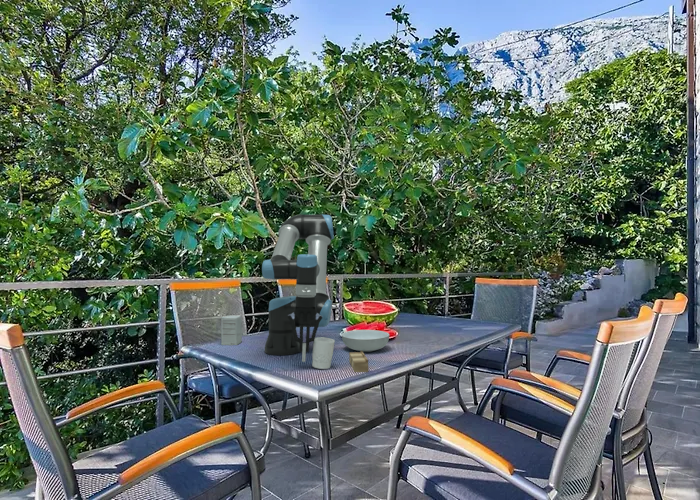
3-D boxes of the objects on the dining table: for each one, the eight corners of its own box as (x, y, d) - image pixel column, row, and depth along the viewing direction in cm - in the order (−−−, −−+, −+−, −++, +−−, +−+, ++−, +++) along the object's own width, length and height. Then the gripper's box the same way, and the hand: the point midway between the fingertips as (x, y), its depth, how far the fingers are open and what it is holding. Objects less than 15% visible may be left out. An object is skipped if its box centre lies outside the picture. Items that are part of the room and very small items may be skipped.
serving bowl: (337, 345, 196) (337, 330, 196) (381, 343, 200) (381, 328, 200) (347, 356, 175) (347, 339, 175) (395, 353, 180) (396, 337, 180)
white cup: (306, 364, 159) (309, 337, 159) (324, 363, 164) (327, 337, 164) (317, 370, 153) (320, 342, 153) (335, 369, 157) (338, 341, 157)
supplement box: (227, 342, 203) (227, 315, 203) (242, 342, 202) (242, 315, 202) (220, 345, 195) (220, 317, 195) (236, 345, 194) (236, 317, 195)
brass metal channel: (349, 361, 167) (349, 350, 167) (362, 361, 167) (362, 350, 167) (354, 372, 152) (354, 360, 152) (368, 371, 152) (368, 360, 152)
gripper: (288, 296, 153) (285, 363, 152) (323, 297, 154) (321, 363, 154) (288, 295, 161) (286, 358, 160) (322, 295, 162) (320, 358, 161)
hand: (303, 360), depth 157 cm, fingers closed
